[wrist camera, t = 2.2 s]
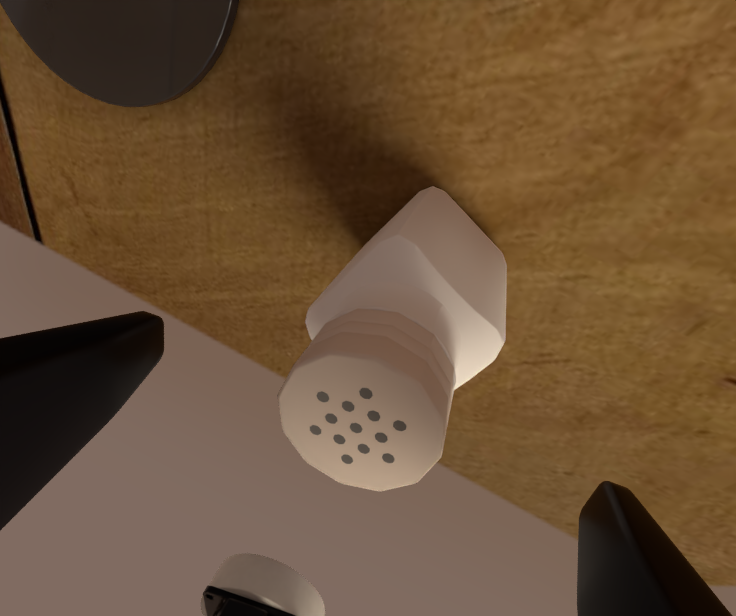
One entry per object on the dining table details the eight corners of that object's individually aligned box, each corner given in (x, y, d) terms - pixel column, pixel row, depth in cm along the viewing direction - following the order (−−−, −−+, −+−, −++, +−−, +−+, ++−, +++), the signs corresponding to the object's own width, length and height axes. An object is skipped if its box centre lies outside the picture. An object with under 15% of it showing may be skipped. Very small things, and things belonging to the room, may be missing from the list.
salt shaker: (358, 250, 17) (220, 405, 9) (435, 174, 15) (347, 285, 7) (430, 323, 18) (362, 533, 9) (514, 259, 16) (519, 455, 7)
